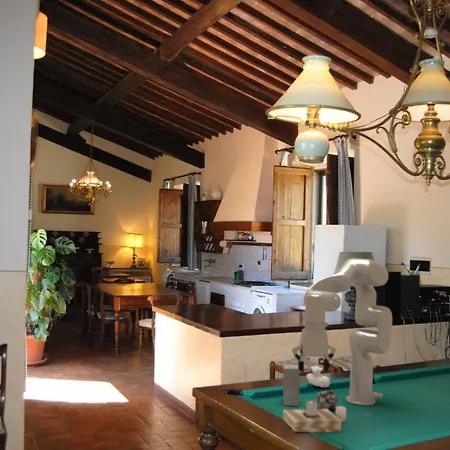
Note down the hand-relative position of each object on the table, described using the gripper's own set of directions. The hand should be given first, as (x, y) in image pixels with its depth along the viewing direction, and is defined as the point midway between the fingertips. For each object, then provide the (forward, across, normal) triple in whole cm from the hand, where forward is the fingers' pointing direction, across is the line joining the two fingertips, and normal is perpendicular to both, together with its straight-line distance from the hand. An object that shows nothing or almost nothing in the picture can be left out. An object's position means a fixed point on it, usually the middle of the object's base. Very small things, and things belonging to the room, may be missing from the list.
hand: (313, 371), depth 220 cm
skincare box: (+21, 0, -28) cm, 35 cm away
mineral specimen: (+21, -12, -18) cm, 30 cm away
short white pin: (+21, -14, -5) cm, 25 cm away
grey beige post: (+21, 0, 0) cm, 21 cm away
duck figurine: (+22, -22, -52) cm, 60 cm away
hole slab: (+21, 0, 0) cm, 21 cm away
